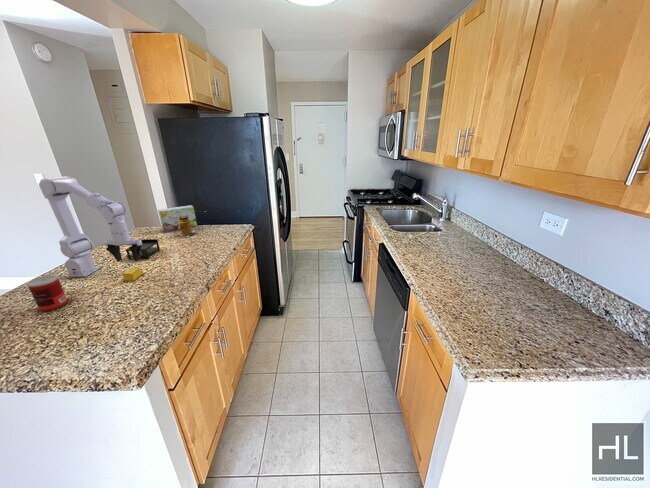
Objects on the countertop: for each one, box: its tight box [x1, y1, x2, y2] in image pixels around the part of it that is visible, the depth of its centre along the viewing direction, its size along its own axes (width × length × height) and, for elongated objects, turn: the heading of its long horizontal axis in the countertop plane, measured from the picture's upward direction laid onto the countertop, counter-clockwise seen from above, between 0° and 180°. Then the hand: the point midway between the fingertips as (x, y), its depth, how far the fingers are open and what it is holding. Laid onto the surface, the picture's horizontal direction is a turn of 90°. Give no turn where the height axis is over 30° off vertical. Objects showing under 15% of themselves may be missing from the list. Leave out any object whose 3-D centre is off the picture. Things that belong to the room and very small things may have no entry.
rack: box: [125, 238, 161, 260], centre depth 140 cm, size 12×10×7 cm
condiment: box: [179, 216, 197, 238], centre depth 170 cm, size 7×8×12 cm
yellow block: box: [122, 267, 143, 282], centre depth 117 cm, size 6×4×4 cm, turn 3°
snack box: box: [157, 204, 198, 233], centre depth 181 cm, size 21×6×15 cm, turn 132°
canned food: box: [26, 274, 68, 312], centre depth 95 cm, size 8×8×11 cm
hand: (128, 260), depth 115 cm, fingers open, 7 cm apart
